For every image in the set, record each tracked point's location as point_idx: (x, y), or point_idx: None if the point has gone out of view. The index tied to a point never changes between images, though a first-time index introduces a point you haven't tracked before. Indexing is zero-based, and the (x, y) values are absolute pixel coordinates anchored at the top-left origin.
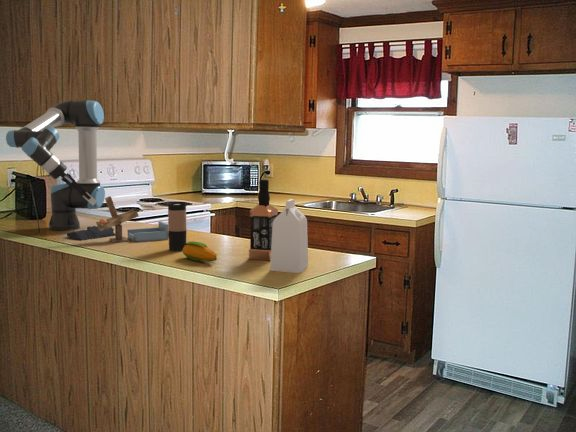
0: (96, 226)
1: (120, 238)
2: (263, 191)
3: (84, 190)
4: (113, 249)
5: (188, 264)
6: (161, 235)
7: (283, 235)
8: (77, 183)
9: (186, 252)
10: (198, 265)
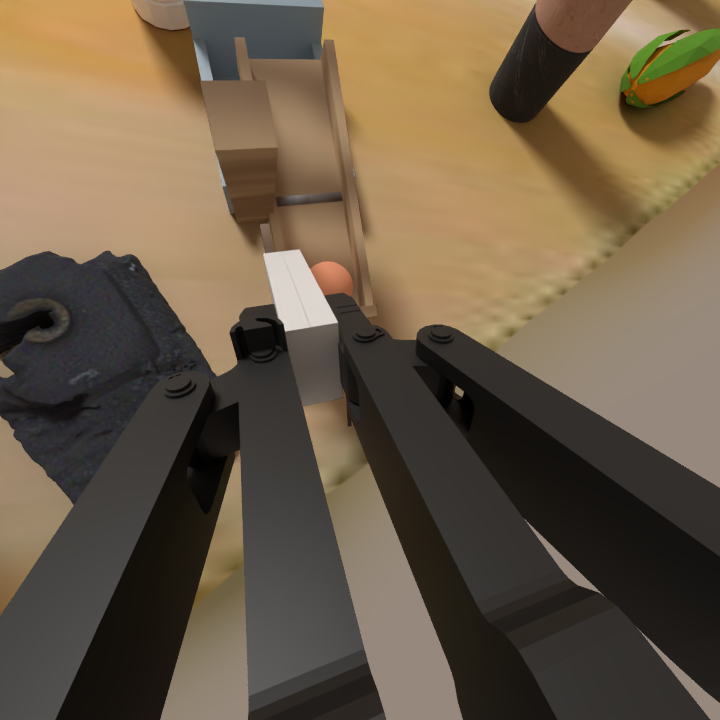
0: (21, 345)
1: None
2: None
3: (465, 342)
4: (481, 292)
5: (689, 126)
6: None
7: None
8: (679, 465)
9: (669, 96)
10: (698, 108)
